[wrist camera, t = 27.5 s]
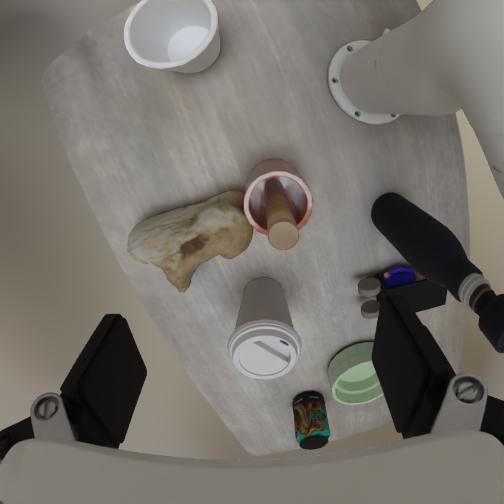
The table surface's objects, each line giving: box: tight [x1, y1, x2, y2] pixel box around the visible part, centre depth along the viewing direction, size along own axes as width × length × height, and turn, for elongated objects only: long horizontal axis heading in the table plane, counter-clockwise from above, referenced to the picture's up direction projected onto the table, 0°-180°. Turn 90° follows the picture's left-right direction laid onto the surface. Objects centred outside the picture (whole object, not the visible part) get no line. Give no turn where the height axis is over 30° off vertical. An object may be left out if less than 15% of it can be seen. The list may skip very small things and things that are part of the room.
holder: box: [244, 159, 313, 235], centre depth 38 cm, size 8×8×10 cm
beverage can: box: [293, 392, 330, 450], centre depth 56 cm, size 7×7×12 cm
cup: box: [124, 0, 220, 73], centre depth 28 cm, size 10×10×13 cm
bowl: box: [328, 342, 384, 405], centre depth 54 cm, size 13×13×6 cm
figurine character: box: [358, 267, 447, 319], centre depth 46 cm, size 7×8×15 cm
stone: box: [128, 190, 253, 292], centre depth 40 cm, size 17×12×10 cm
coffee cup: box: [228, 278, 302, 379], centre depth 43 cm, size 10×10×15 cm
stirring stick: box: [264, 179, 299, 250], centre depth 34 cm, size 3×3×18 cm
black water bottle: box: [371, 193, 504, 353], centre depth 30 cm, size 6×6×30 cm
